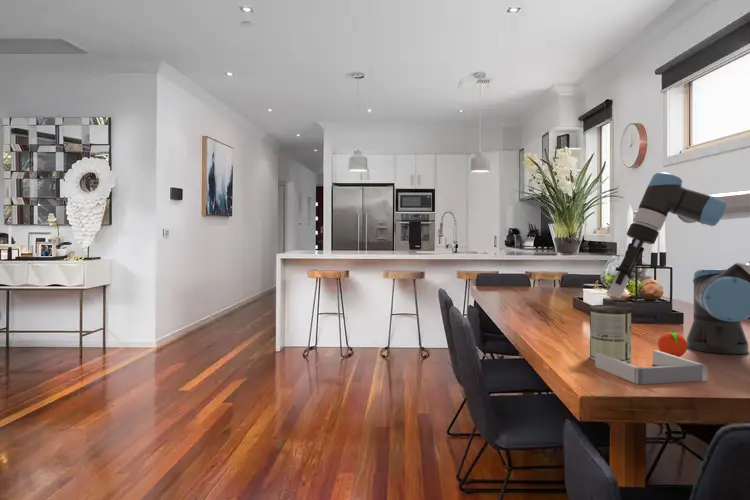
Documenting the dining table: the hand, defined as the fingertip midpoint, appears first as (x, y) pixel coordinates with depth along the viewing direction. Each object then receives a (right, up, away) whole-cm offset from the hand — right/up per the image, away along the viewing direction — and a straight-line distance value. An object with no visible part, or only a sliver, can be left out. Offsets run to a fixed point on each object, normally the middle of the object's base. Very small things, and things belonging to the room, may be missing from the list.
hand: (614, 296), depth 148 cm
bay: (-2, -16, -22) cm, 28 cm away
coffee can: (-5, -16, -8) cm, 19 cm away
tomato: (+13, -16, -7) cm, 22 cm away
